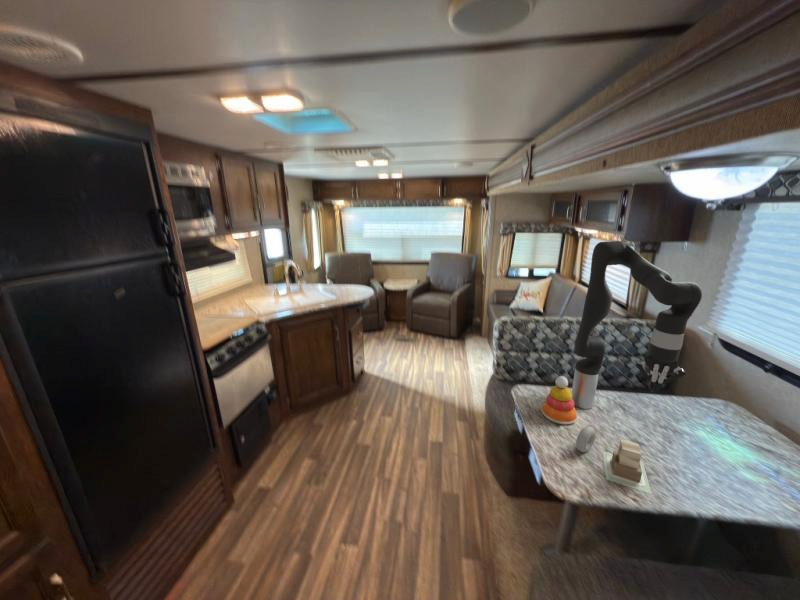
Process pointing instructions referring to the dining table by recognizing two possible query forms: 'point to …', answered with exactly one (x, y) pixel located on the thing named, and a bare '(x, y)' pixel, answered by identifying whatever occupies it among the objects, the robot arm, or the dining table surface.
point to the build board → (610, 475)
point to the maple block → (629, 454)
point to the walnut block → (625, 469)
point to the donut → (585, 439)
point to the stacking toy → (560, 404)
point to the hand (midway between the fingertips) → (653, 390)
